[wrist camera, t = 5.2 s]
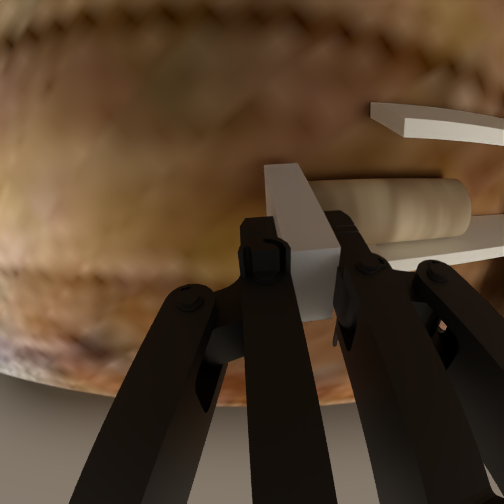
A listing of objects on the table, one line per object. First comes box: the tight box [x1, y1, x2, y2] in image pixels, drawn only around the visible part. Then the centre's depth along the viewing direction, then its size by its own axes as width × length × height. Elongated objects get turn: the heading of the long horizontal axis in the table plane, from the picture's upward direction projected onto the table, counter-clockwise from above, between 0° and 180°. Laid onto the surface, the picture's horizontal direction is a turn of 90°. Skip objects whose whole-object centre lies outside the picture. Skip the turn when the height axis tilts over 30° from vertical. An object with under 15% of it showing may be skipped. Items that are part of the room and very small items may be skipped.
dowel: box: [308, 178, 471, 245], centre depth 15 cm, size 9×3×3 cm
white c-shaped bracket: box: [367, 102, 504, 271], centre depth 14 cm, size 8×17×4 cm, turn 95°
